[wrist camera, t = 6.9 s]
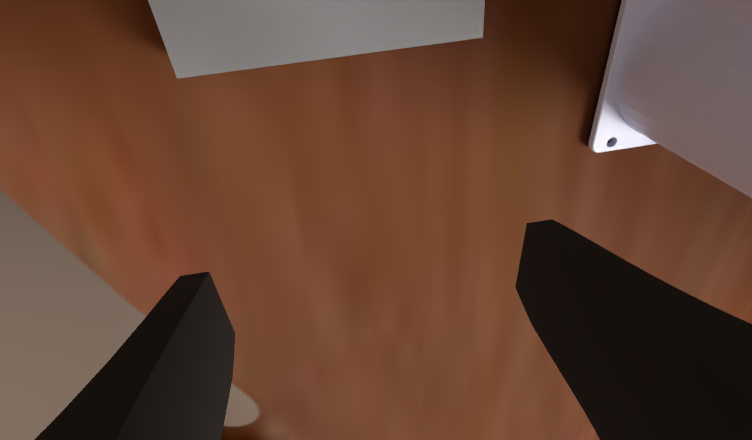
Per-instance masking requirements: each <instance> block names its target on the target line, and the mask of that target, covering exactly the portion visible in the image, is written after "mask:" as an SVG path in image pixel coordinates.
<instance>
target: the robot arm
mask: <svg viewBox="0 0 752 440" xmlns="http://www.w3.org/2000/svg"><path fill="white" fill-rule="evenodd" d="M610 138H612V139H611V141H610V142H609V143H607V142H608V140H609V139H610ZM651 144H659V145H661V146H663V147H664V148H666V149H668V150H670V151H671V152H673V153H675V154H676V155H678V156H680V157H682V158H683V159H685V160H687V161H688V162H690V163H692V164H694V165H695V166H697V167H699V168H700V169H702V170H704V171H706V172H707V173H709V174H711V175H713V176H714V177H716V178H718V179H719V180H721V181H723V182H725V183H726V184H728V185H730V186H731V187H733V188H735V189H737V190H738V191H740V192H742V193H744V194H745V195H747V196H749V197H750V198H752V0H622V1H621V5H620V10H619V14H618V18H617V23H616V27H615V31H614V35H613V40H612V44H611V48H610V53H609V57H608V61H607V65H606V70H605V74H604V78H603V83H602V87H601V91H600V96H599V100H598V104H597V108H596V113H595V117H594V121H593V126H592V130H591V134H590V138H589V145H588V146H589V148H590V149H591V150H593V151H594V152H596V153H600V152H606V151H613V150H619V149H626V148H632V147H638V146H645V145H651ZM516 289H517V292H518V294H519V296H520V299H521V301H522V304H523V306H524V308H525V310H526V313H527V315H528V317H529V319H530V321H531V323H532V325H533V327H534V329H535V331H536V332H537V334H538V336H539V337H540V339H541V341H542V342H543V344H544V346H545V347H546V349H547V351H548V352H549V354H550V356H551V357H552V359H553V361H554V362H555V364H556V366H557V367H558V369H559V370H560V372H561V374H562V375H563V377H564V379H565V380H566V382H567V384H568V385H569V387H570V388H571V390H572V392H573V393H574V395H575V397H576V398H577V400H578V402H579V403H580V405H581V406H582V408H583V410H584V411H585V413H586V415H587V417H588V418H589V420H590V422H591V424H592V426H593V427H594V429H595V431H596V433H597V435H598V437H599V439H600V440H752V324H750V323H748V322H746V321H744V320H741V319H739V318H737V317H735V316H732V315H730V314H728V313H726V312H724V311H722V310H719V309H717V308H715V307H713V306H711V305H709V304H707V303H705V302H703V301H701V300H699V299H697V298H695V297H693V296H691V295H689V294H687V293H685V292H683V291H681V290H679V289H677V288H675V287H673V286H671V285H669V284H668V283H666V282H664V281H662V280H660V279H658V278H656V277H654V276H653V275H651V274H649V273H647V272H645V271H643V270H642V269H640V268H638V267H636V266H634V265H633V264H631V263H629V262H627V261H625V260H624V259H622V258H620V257H618V256H617V255H615V254H613V253H611V252H610V251H608V250H606V249H604V248H603V247H601V246H599V245H598V244H596V243H594V242H592V241H591V240H589V239H587V238H585V237H584V236H582V235H580V234H578V233H577V232H575V231H573V230H571V229H569V228H568V227H566V226H564V225H562V224H560V223H558V222H556V221H554V220H546V221H539V222H533V223H527V226H526V231H525V237H524V243H523V248H522V254H521V259H520V265H519V271H518V276H517V282H516ZM234 344H235V332H234V330H233V327H232V325H231V323H230V320H229V318H228V315H227V313H226V311H225V308H224V306H223V304H222V301H221V299H220V297H219V294H218V292H217V289H216V287H215V285H214V282H213V280H212V278H211V275H210V273H209V272H204V273H197V274H191V275H184V276H180V277H179V278H178V279H177V280H176V282H175V283H174V284H173V285H172V286H171V287H170V289H169V290H168V291H167V292H166V293H165V295H164V296H163V297H162V298H161V300H160V301H159V302H158V303H157V304H156V306H155V307H154V308H153V309H152V310H151V312H150V313H149V314H148V315H147V317H146V318H145V319H144V320H143V322H142V323H141V324H140V325H139V326H138V327H137V329H136V330H135V331H134V332H133V333H132V334H131V336H130V337H129V338H128V339H127V340H126V342H125V343H124V344H123V345H122V346H121V347H120V349H119V350H118V351H117V352H116V353H115V354H114V356H113V357H112V358H111V359H110V360H109V361H108V363H107V364H106V365H105V366H104V367H103V368H102V369H101V370H100V371H99V372H98V373H97V374H96V375H95V377H94V378H93V379H92V380H91V381H90V382H89V383H88V384H87V385H86V386H85V387H84V389H83V390H82V391H81V392H80V393H79V394H78V395H77V396H76V397H75V398H74V399H73V401H72V402H71V403H70V404H69V405H68V406H67V407H66V408H65V409H64V410H63V411H62V412H61V413H60V414H59V415H58V416H57V417H56V419H55V420H54V421H53V422H52V423H51V424H50V425H49V426H48V427H47V428H46V429H45V430H44V431H43V432H42V433H41V434H40V435H39V436H38V437H37V438H36V439H35V440H221V435H222V430H223V425H224V420H225V415H226V409H227V404H228V398H229V393H230V388H231V382H232V375H233V362H234Z"/></svg>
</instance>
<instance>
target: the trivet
mask: <svg viewBox="0 0 752 440" xmlns="http://www.w3.org/2000/svg"><path fill="white" fill-rule="evenodd" d="M148 2H149V4H150V7H151V10H152V12H153V15H154V18H155V20H156V23H157V26H158V28H159V31H160V34H161V36H162V39H163V42H164V45H165V47H166V50H167V53H168V55H169V58H170V61H171V63H172V66H173V69H174V71H175V74H176V77H177V79H178V78H185V77H193V76H200V75H208V74H215V73H222V72H230V71H237V70H245V69H252V68H260V67H267V66H275V65H282V64H290V63H297V62H305V61H312V60H320V59H327V58H334V57H342V56H349V55H357V54H364V53H372V52H379V51H387V50H394V49H402V48H409V47H417V46H424V45H432V44H439V43H446V42H454V41H461V40H469V39H476V38H483V25H484V8H485V0H148Z"/></svg>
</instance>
